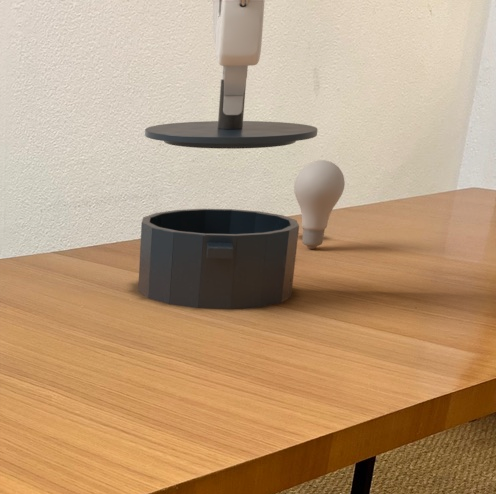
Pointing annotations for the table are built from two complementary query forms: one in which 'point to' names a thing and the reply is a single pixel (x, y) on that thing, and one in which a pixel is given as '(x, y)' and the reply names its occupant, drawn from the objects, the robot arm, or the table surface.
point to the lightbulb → (317, 198)
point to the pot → (217, 258)
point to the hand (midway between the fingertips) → (231, 113)
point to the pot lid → (230, 132)
